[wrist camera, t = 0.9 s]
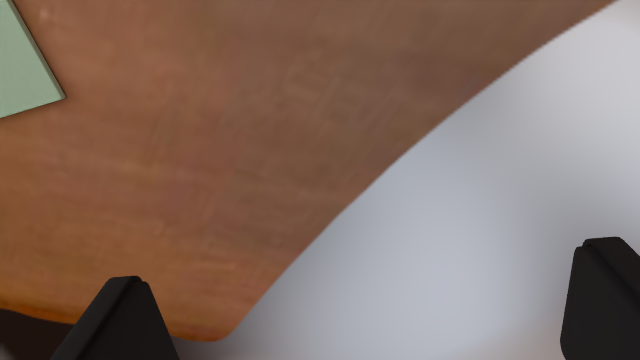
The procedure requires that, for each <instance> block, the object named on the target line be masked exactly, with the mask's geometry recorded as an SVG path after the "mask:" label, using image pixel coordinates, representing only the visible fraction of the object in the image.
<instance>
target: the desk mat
mask: <svg viewBox="0 0 640 360" xmlns="http://www.w3.org/2000/svg"><path fill="white" fill-rule="evenodd" d="M64 98H65V95H64V93H63V91H62V89H61V88H60V86H59V84H58V82H57V80H56V79H55V77H54V75H53V73H52V72H51V70H50V68H49V66H48V64H47V63H46V61H45V59H44V57H43V55H42V54H41V52H40V50H39V48H38V46H37V45H36V43H35V41H34V39H33V38H32V36H31V34H30V32H29V30H28V29H27V27H26V25H25V23H24V21H23V20H22V18H21V16H20V14H19V12H18V11H17V9H16V7H15V5H14V3H13V2H12V0H0V118H2V117H5V116H8V115H12V114H15V113H18V112H22V111H25V110H28V109H32V108H35V107H38V106H41V105H45V104H48V103H51V102H55V101H58V100H61V99H64Z"/></svg>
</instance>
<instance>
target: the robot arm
mask: <svg viewBox="0 0 640 360" xmlns="http://www.w3.org/2000/svg"><path fill="white" fill-rule="evenodd" d="M560 344H561V350H562V353H563V355H564V357H565V359H566V360H640V256H639V255H638V254H637V253H636V252H635V251H634V250H633V249H632V248H631V247H630V246H629V245H628V244H627V243H626V242H625V241H624V240H623V239H621V238H620V237H604V238H592V239H586V240H585V241H584V242H583V245H582V246H581V247H577V248H576V249H575V252H574V257H573V263H572V270H571V276H570V282H569V288H568V294H567V300H566V306H565V312H564V319H563V325H562V331H561V337H560ZM50 360H180V359H179V357H178V355H177V352H176V350H175V347H174V345H173V343H172V340H171V338H170V335H169V333H168V330H167V328H166V325H165V323H164V320H163V318H162V316H161V313H160V311H159V308H158V306H157V303H156V301H155V298H154V296H153V294H152V291H151V289H150V286H149V285H148V283H147V282H144V281H142V280H141V278H140V277H138V276H125V277H113V278H111V279H109V280H108V281H107V282H106V283H105V285H104V286H103V287H102V289H101V290H100V292H99V293H98V294H97V296H96V297H95V298H94V300H93V301H92V302H91V304H90V305H89V307H88V308H87V309H86V311H85V312H84V313H83V315H82V316H81V317H80V319H79V320H78V321H77V323H76V324H75V326H74V327H73V328H72V330H71V331H70V332H69V334H68V335H67V336H66V338H65V339H64V341H63V342H62V343H61V345H60V346H59V347H58V349H57V350H56V351H55V353H54V354H53V355H52V357H51V358H50Z"/></svg>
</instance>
